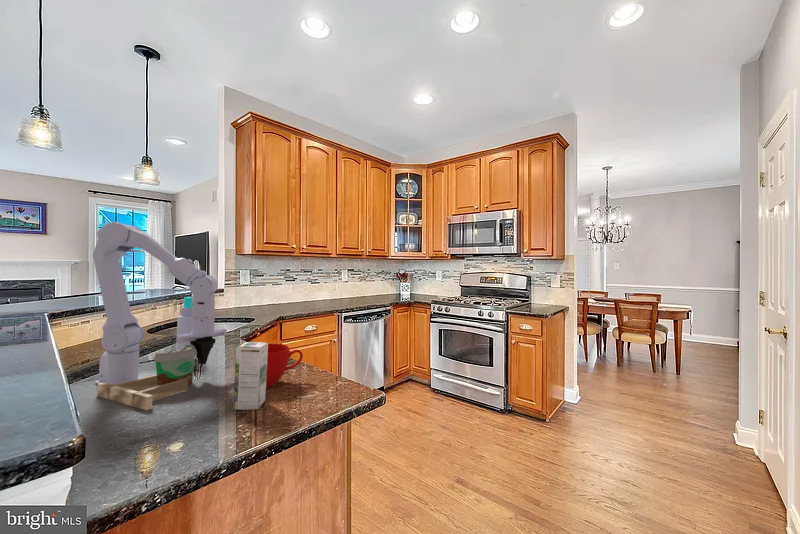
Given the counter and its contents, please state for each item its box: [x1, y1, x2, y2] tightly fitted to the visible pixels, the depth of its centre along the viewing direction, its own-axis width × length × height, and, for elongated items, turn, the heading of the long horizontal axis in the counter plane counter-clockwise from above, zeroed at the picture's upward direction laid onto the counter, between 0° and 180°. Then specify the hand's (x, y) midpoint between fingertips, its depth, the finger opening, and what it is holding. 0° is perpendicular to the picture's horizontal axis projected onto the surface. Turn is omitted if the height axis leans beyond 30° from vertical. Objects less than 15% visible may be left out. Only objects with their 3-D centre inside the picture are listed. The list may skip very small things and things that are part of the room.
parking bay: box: [96, 373, 189, 411], centre depth 89 cm, size 20×13×3 cm, turn 66°
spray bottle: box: [176, 296, 197, 361], centre depth 124 cm, size 6×6×22 cm
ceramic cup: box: [266, 343, 304, 388], centre depth 101 cm, size 13×17×10 cm
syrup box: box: [232, 341, 269, 411], centre depth 84 cm, size 6×6×14 cm
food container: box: [153, 345, 197, 387], centre depth 96 cm, size 12×6×10 cm, turn 175°
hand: (202, 363), depth 103 cm, fingers closed
